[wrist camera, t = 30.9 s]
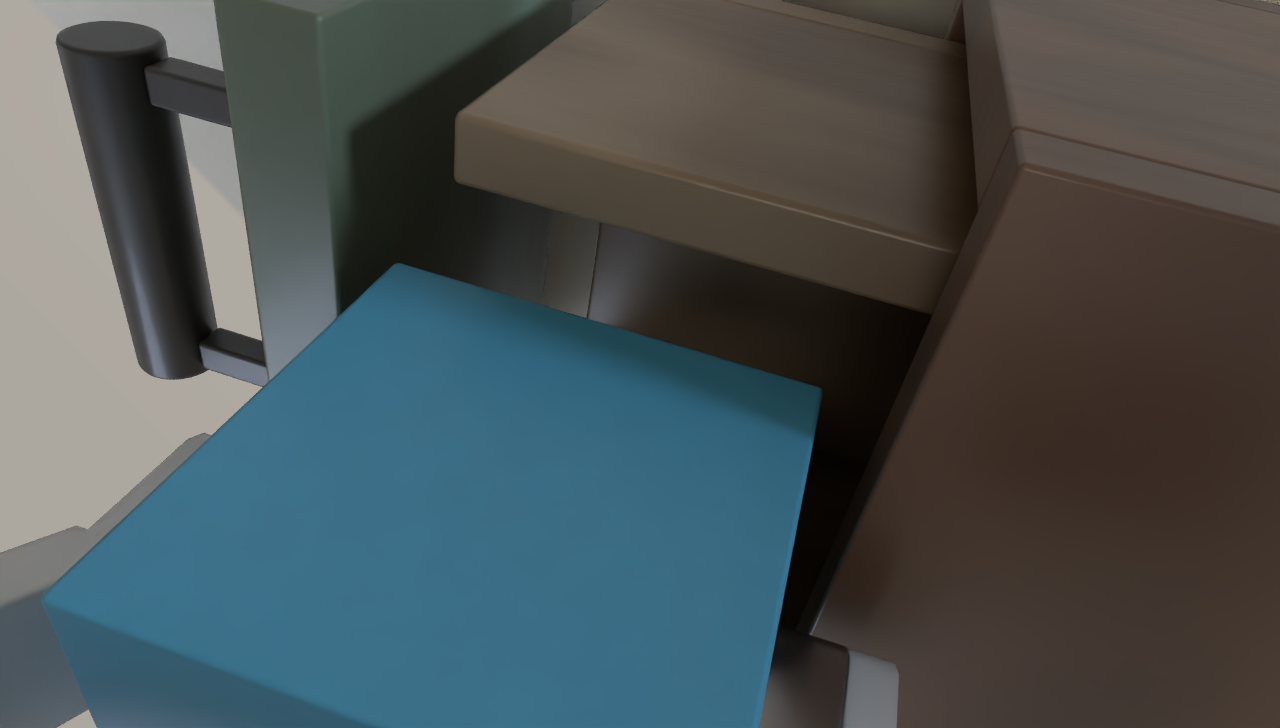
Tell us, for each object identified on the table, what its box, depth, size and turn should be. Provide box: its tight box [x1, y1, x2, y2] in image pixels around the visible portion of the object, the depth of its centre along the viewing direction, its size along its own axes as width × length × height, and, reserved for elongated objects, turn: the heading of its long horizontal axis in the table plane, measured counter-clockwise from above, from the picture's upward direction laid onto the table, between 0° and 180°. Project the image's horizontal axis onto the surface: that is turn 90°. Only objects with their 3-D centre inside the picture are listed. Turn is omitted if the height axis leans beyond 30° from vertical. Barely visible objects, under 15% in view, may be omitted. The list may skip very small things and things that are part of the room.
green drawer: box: [56, 0, 979, 630], centre depth 14 cm, size 18×10×8 cm, turn 81°
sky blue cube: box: [41, 263, 823, 728], centre depth 9 cm, size 5×5×5 cm
